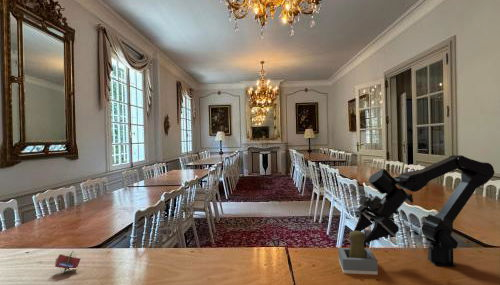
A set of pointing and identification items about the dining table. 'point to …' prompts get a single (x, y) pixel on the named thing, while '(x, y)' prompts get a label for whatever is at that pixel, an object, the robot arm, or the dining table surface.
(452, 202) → the robot arm
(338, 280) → the dining table surface
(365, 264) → the box
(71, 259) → the geometric puzzle
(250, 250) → the dining table surface
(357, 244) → the cork
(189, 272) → the dining table surface
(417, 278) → the dining table surface
